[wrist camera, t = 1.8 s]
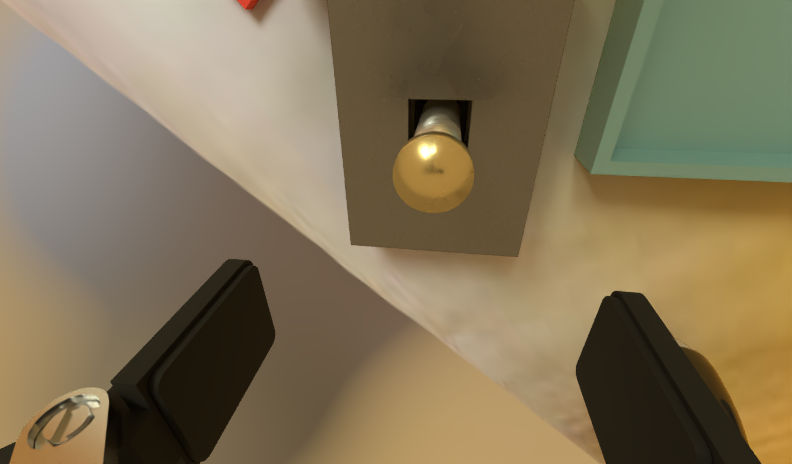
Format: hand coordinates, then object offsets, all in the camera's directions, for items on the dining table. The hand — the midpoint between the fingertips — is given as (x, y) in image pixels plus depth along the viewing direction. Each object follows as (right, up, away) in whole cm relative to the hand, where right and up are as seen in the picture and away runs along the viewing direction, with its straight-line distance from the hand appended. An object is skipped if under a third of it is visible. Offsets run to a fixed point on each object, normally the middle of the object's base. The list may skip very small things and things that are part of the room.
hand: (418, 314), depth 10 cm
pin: (+3, +12, +18) cm, 22 cm away
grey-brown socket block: (+3, +12, +18) cm, 22 cm away
